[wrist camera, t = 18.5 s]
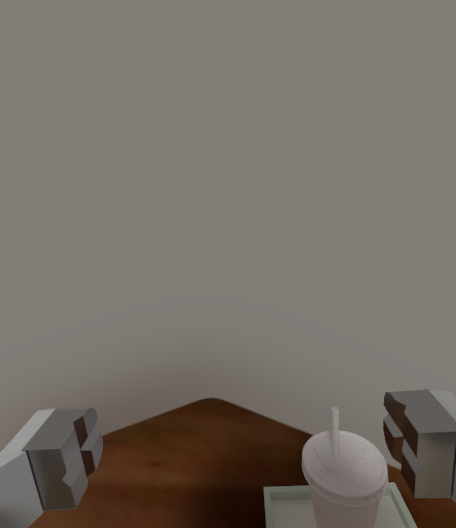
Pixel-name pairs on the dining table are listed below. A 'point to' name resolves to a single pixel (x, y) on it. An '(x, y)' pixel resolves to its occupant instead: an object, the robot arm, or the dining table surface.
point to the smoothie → (344, 477)
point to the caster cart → (302, 513)
